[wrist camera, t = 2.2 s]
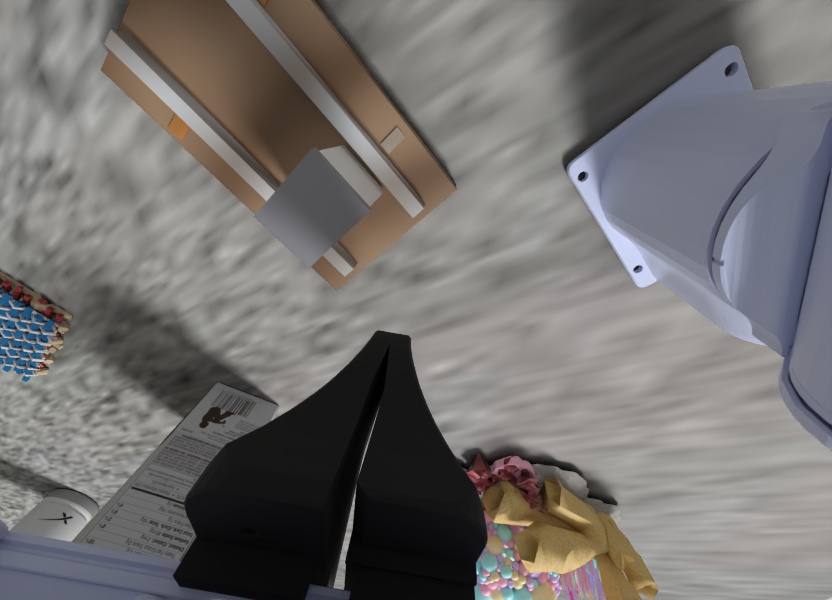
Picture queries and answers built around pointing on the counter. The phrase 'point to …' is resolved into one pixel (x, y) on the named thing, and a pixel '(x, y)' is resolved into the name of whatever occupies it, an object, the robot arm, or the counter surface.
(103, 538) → the coffee box
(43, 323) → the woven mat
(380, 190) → the fader knob
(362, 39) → the counter surface
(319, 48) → the fader board
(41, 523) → the travel mug
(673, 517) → the counter surface
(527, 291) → the counter surface
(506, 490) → the candy landscape model
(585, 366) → the counter surface
